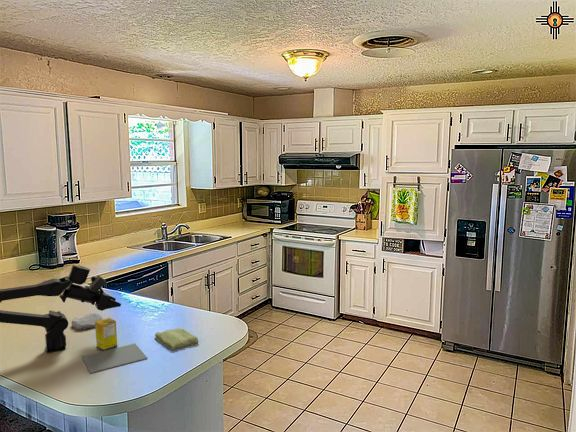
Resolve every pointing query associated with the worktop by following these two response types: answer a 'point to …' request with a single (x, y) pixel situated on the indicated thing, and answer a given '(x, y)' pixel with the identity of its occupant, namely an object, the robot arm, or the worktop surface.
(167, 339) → the washcloth
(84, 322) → the stone block
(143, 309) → the worktop surface
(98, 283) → the robot arm
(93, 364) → the grey mat
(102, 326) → the supplement box
